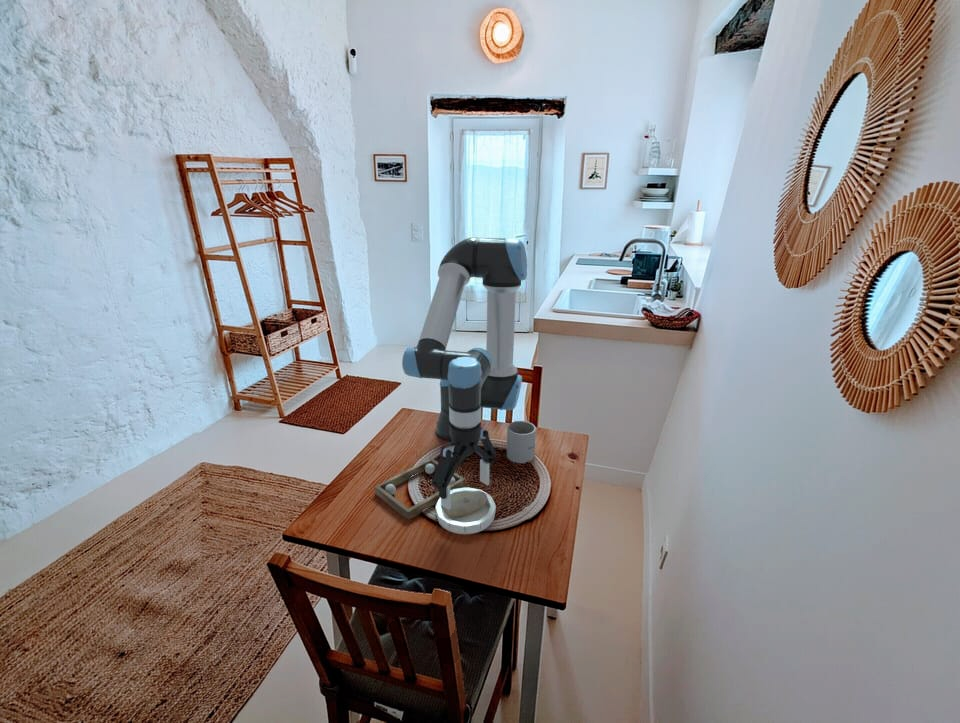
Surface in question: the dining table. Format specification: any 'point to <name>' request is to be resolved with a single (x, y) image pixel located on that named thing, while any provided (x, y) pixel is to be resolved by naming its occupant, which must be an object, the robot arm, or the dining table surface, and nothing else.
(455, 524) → the bowl
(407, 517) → the parts frame
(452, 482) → the pebble
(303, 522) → the dining table surface
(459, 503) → the stone
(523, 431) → the mug
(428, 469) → the pale glossy ball
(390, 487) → the pebble
